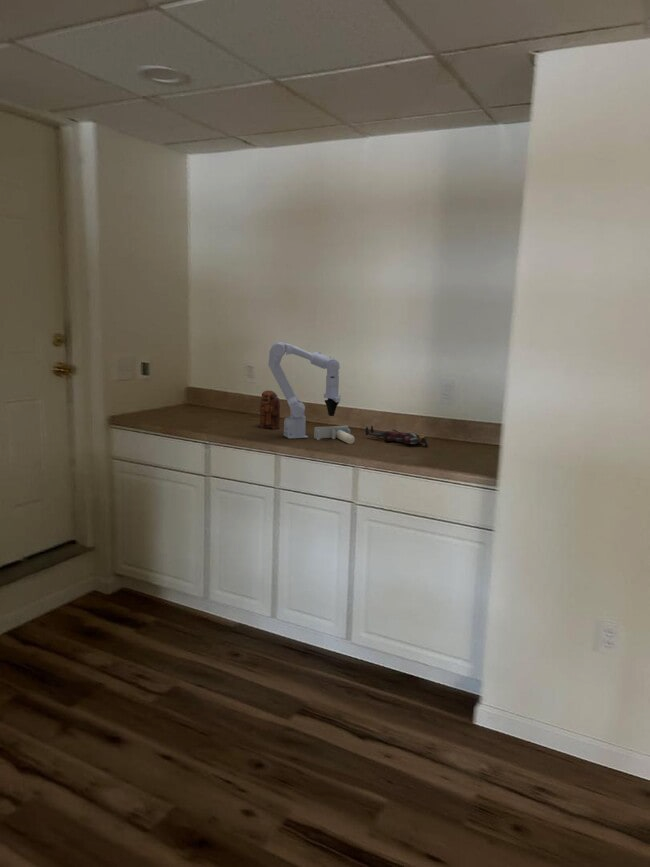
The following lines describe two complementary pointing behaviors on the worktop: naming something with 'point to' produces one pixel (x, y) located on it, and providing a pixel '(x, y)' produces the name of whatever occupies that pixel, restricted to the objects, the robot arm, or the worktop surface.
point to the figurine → (398, 436)
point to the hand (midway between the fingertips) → (331, 415)
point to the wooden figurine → (269, 410)
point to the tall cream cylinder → (345, 437)
